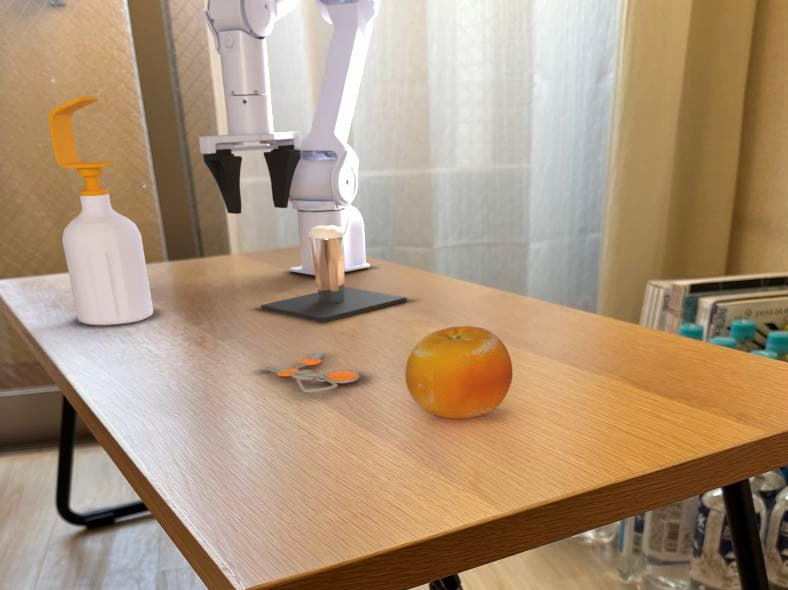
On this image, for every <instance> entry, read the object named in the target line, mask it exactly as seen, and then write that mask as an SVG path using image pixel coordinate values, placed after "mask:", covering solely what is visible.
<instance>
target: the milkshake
mask: <svg viewBox="0 0 788 590" xmlns="http://www.w3.org/2000/svg"><path fill="white" fill-rule="evenodd" d="M349 220H350V217H349V219H348V222H347V225H346V228H345V231H344V230H343V229H342V228H340V227H337V226H334V225H329V226H321V225H320V226H316V227H314V228H313V229H311V231H310V232H309V235H308V237H309V242H310V248H311V254H312V259H313V264H314V271H315V275H314V276H315V277H314V278H315V284H316V290H317V292H318V298H319V302H321V303H328V304H332V303H339V302H343V301H344V287H345V272H344V262H345V238H346V233H345V232H346V229H347V226H348V223H349Z"/></svg>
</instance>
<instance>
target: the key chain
mask: <svg viewBox="0 0 788 590" xmlns="http://www.w3.org/2000/svg"><path fill="white" fill-rule="evenodd" d="M323 355H325V352H324V351H315V353H313V354H312V355H311V356H310V357H308V358H303V359H300V361H299V363H300V364H298V365H296V366H295V368H281V367H278V366H273V365H269V366H266V367H265V371H269V372H271V373H275V374H276V375H277V376H278V377H291V378H292V379H295V382H296V383H297V385H298V387H299V389H300V391H302V393H306V394H307V393H309V394H310V393H319V392H326V391H330V390H334V389H336V388H338V386H339V385H338V384H348V383H352V382H353V383H354V382H356V381H357V380H360V373H358V372H356V371H351V370H338V371H333V372H330V373H324V372H320V373H319V372H316V373H315V372H314V373H313V370H311V369H303V370H299V369H301V368H303V367H306V366H314V365H319V364H321V363H322V359H321V358H323V357H324V356H323ZM314 380H317V381H318V382H324V383H325V382H328V383H330V384H331V385H329V386H324V387H319V388H306V387H305V386H304V384H303V383H302V381H314Z"/></svg>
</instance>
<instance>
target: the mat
mask: <svg viewBox="0 0 788 590" xmlns="http://www.w3.org/2000/svg"><path fill="white" fill-rule="evenodd" d="M407 301H408V300H407V297H406V296H400V295H395V294H388V293H383V292H377V291H371V290H367V289H366V290H365V289H362V288H361V289H360V288H354V287H350V286H349V287H348V286H344V301H343V302H339V303H332V304H328V303H321V302H319V298H318V291H317V292H313V293H309V294H305V295H300V296H299V295H298V296H296V297H290V298H287V299H282V300H277V301H272V302H269V303H264V304H261V305H260V309H261V310H265V311H268V312H274V313H278V314H283V315H287V316H291V317H297V318H302V319H307V320H310V321H315V322H319V323H326V322H329V321H334V320H338V319H341V318H346V317H349V316H353V315H358V314H362V313H365V312H369V311H373V310H377V309H381V308H385V307H389V306H393V305H398V304H401V303H405V302H407Z"/></svg>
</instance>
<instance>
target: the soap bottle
mask: <svg viewBox="0 0 788 590" xmlns="http://www.w3.org/2000/svg"><path fill="white" fill-rule="evenodd" d="M97 101H98V98H97V96H96V95H95V96H94V95H91V96H79V97H76V98H74V99H72V100H70V101H68V102H67V101H66V102H65V103H63V104H61V105H59V106H57V107H54V108H53V109H52V110H51V111H50V112H49V115H48V126H49V130H50V136H51V141H52V146H53V153H54V156H55V160H56V162H57V164H58V165H59V166H60V167H61V168H64V169H76V170H77V175H78V176H79V177H83V180H84V186H85V189H79V190H78V193H79V199H80V204H81V205H80V206H81V212H80V213H79V214H78V215H77V216H75V217H74V218H73V219H72V220H70V222H69V223H68V224H67V225H66V226H65V228H63V232H62V240H61V241H62V246H63V251H64V256H65V261H66V266H67V271H68V276H69V282H70V287H71V291H72V292H71V293H72V297H73V302H74V307H75V311H76V316H77V320H78V322H81V323H83V324H85V325H88V326H95V327H96V326H99V327H100V326H102V327H103V326H104V327H106V326H108V327H109V326H119V325H126V324H133V323H136V322H141V321H143V320H146V319H148V318H149V317H151V316H152V315H153V314H154V307H153V300H152V295H151V288H150V282H149V275H148V270H147V264H146V257H145V251H144V245H143V239H142V238H143V237H142V234H141V232H140V230H139V228H138V226H137V224H136V223H135V222H133V221H132V220H131V219H129V218H128V217H127V216H124V215H123V214H120V213H119V212H117V211H116V210H115V209H113V207H112V203H111V198H110V193H109V188H102V187H101V183H100V177H99V176H102V175H104V172H103V168H104V167H109V166H114V161H112V160H104V161H103V160H100V161H84V160H82V159H80V157H79V155H78V152H77V147H76V142H75V138H74V137H75V135H74V131H73V125H72V117H73V114H74V113H75V112H76V111H79V110H80V109H83V108H85V107H87V106H89V105H92V104H94V103H96V102H97Z"/></svg>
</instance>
